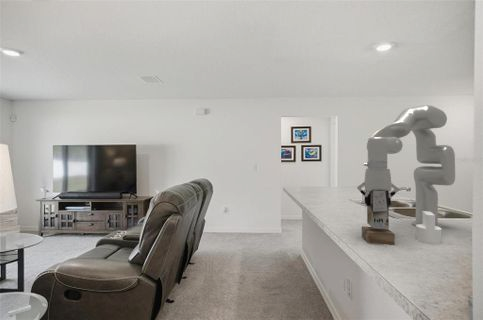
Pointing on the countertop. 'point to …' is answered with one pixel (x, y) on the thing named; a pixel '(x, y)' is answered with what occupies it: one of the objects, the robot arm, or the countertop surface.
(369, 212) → the coffee box
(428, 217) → the base with upright slab
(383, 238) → the walnut block
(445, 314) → the countertop surface
